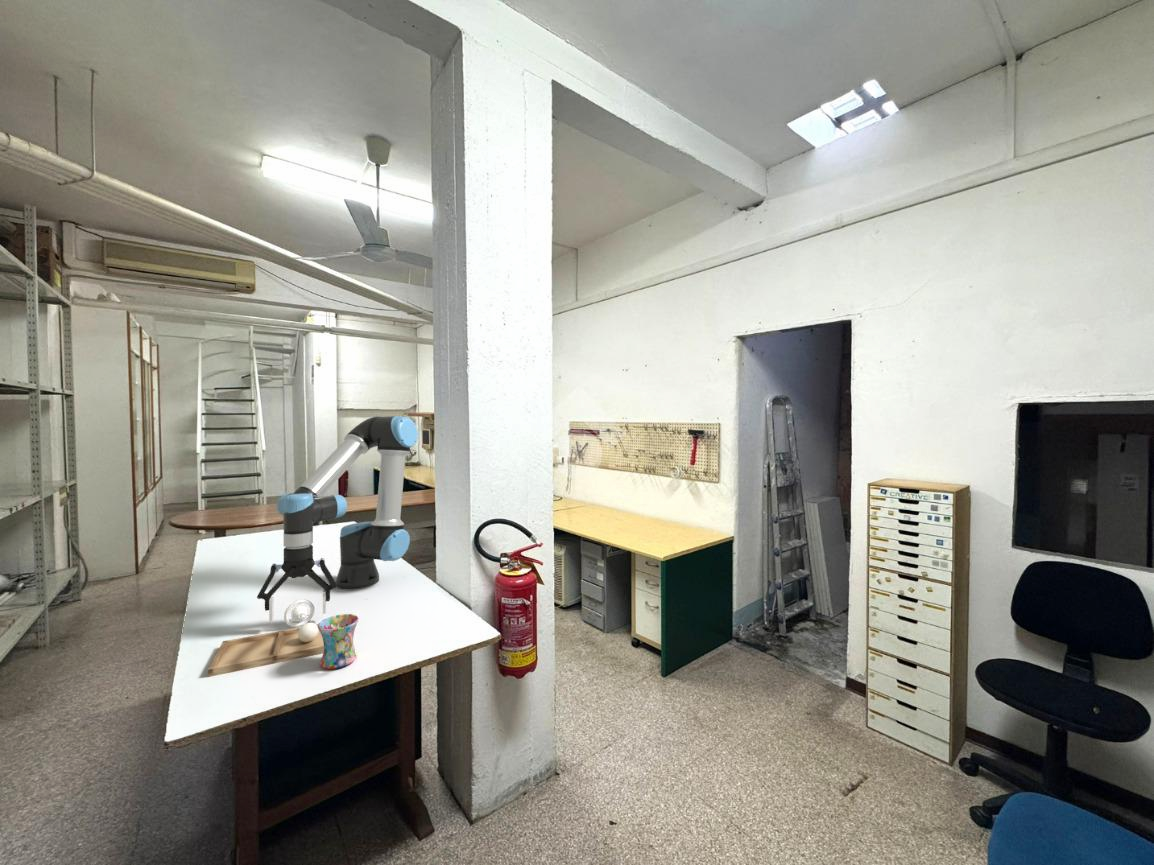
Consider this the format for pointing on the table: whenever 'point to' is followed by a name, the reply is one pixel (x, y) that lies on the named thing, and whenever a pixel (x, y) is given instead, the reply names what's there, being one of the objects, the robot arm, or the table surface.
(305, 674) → the table surface
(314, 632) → the ceramic egg
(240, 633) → the table surface
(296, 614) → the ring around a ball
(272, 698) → the table surface
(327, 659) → the floral vase
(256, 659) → the divided wooden tray
